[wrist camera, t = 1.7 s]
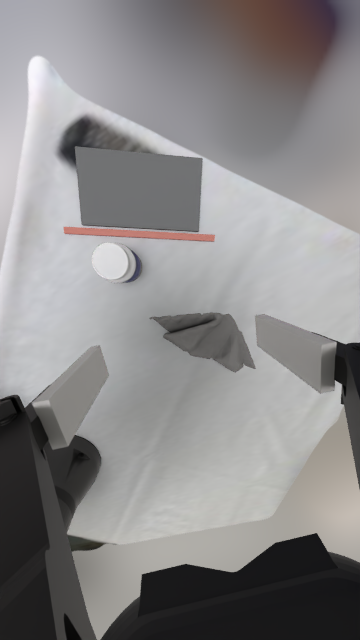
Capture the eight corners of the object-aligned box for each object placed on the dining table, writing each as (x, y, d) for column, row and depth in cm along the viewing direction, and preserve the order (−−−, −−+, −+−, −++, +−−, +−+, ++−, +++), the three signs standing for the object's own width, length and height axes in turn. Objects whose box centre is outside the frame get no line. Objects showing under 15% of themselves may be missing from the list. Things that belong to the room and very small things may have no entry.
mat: (83, 225, 31) (81, 224, 30) (76, 148, 28) (74, 146, 28) (198, 231, 32) (198, 230, 32) (201, 160, 30) (202, 158, 29)
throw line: (65, 233, 31) (64, 233, 30) (64, 227, 31) (63, 226, 30) (213, 241, 33) (214, 241, 33) (214, 235, 33) (214, 235, 32)
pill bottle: (139, 248, 32) (128, 235, 23) (144, 280, 34) (136, 281, 24) (107, 251, 32) (82, 240, 22) (113, 283, 33) (92, 286, 24)
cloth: (271, 350, 40) (278, 354, 38) (230, 393, 42) (234, 400, 40) (183, 273, 35) (185, 273, 32) (140, 327, 36) (139, 330, 34)
